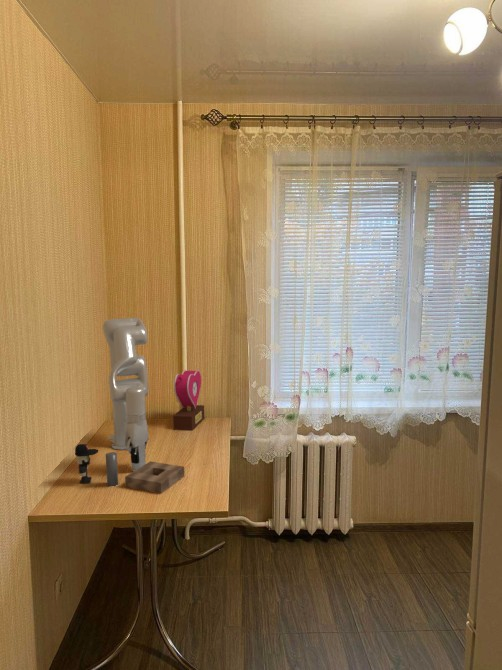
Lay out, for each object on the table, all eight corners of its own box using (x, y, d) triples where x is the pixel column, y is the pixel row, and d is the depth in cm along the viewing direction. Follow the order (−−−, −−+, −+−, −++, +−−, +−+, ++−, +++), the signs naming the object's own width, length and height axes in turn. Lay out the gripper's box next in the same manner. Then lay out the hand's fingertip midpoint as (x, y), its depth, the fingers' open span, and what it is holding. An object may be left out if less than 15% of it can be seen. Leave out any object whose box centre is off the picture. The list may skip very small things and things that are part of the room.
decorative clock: (190, 432, 239) (188, 374, 235) (171, 431, 241) (168, 374, 237) (204, 418, 263) (203, 365, 259) (187, 417, 265) (185, 365, 261)
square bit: (131, 470, 192) (130, 442, 190) (137, 466, 195) (136, 438, 194) (139, 471, 190) (138, 443, 189) (145, 468, 194) (144, 440, 192)
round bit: (105, 485, 178) (103, 455, 176) (112, 481, 182) (110, 451, 180) (113, 487, 177) (111, 456, 175) (120, 483, 180) (118, 453, 179)
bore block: (125, 486, 177) (125, 476, 176) (150, 470, 191) (150, 461, 191) (161, 493, 170) (161, 483, 170) (184, 476, 185) (184, 466, 185)
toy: (99, 484, 180) (96, 446, 178) (75, 486, 178) (72, 448, 176) (100, 476, 187) (98, 439, 185) (78, 478, 185) (75, 441, 183)
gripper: (141, 411, 199) (143, 452, 201) (115, 422, 184) (117, 467, 186) (156, 412, 196) (157, 454, 198) (130, 424, 181) (133, 470, 183)
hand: (138, 460), depth 192 cm, fingers closed on square bit, 4 cm apart
